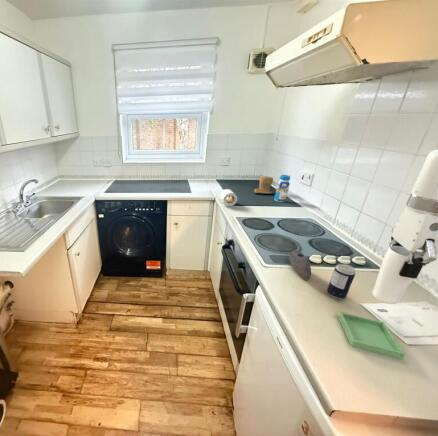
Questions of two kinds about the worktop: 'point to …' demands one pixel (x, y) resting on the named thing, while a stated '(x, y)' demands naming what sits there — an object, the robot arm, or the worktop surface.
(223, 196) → the toilet paper
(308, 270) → the perforated stone tool
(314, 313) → the worktop surface
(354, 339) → the green tray
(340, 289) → the beverage can
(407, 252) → the white cup
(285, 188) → the beverage bottle
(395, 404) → the worktop surface
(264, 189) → the brown cylinder on base
